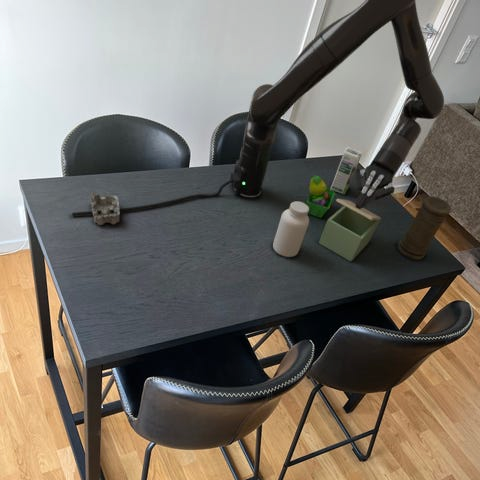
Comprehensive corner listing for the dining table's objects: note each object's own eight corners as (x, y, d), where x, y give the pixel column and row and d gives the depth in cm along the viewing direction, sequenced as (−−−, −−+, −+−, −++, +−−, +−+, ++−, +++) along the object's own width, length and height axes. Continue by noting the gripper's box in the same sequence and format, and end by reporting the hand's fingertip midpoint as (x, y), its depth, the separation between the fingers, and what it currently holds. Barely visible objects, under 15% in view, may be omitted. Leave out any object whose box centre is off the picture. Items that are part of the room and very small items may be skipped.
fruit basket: (324, 221, 151) (335, 192, 143) (298, 212, 152) (308, 182, 144) (330, 204, 159) (342, 175, 151) (306, 195, 160) (316, 166, 151)
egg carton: (91, 202, 135) (90, 190, 132) (117, 203, 137) (117, 191, 134) (92, 225, 128) (91, 213, 125) (120, 225, 130) (120, 213, 127)
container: (424, 263, 146) (454, 216, 133) (397, 255, 146) (424, 207, 133) (422, 246, 153) (451, 200, 140) (396, 238, 153) (422, 191, 140)
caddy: (350, 261, 140) (362, 238, 133) (318, 242, 143) (327, 219, 136) (368, 242, 148) (380, 220, 142) (337, 225, 151) (347, 202, 145)
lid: (371, 220, 129) (372, 217, 129) (335, 200, 132) (337, 198, 132) (379, 220, 142) (381, 217, 141) (347, 202, 145) (348, 200, 144)
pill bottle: (301, 246, 140) (316, 204, 129) (294, 261, 134) (310, 219, 124) (276, 237, 141) (289, 194, 130) (269, 251, 135) (282, 208, 124)
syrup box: (329, 189, 165) (343, 152, 155) (333, 182, 169) (347, 145, 159) (344, 195, 165) (359, 158, 154) (348, 188, 169) (363, 151, 158)
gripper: (371, 139, 130) (337, 192, 132) (413, 159, 127) (378, 214, 128) (371, 151, 137) (339, 201, 139) (411, 170, 134) (377, 222, 135)
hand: (358, 207), depth 133 cm, fingers closed
